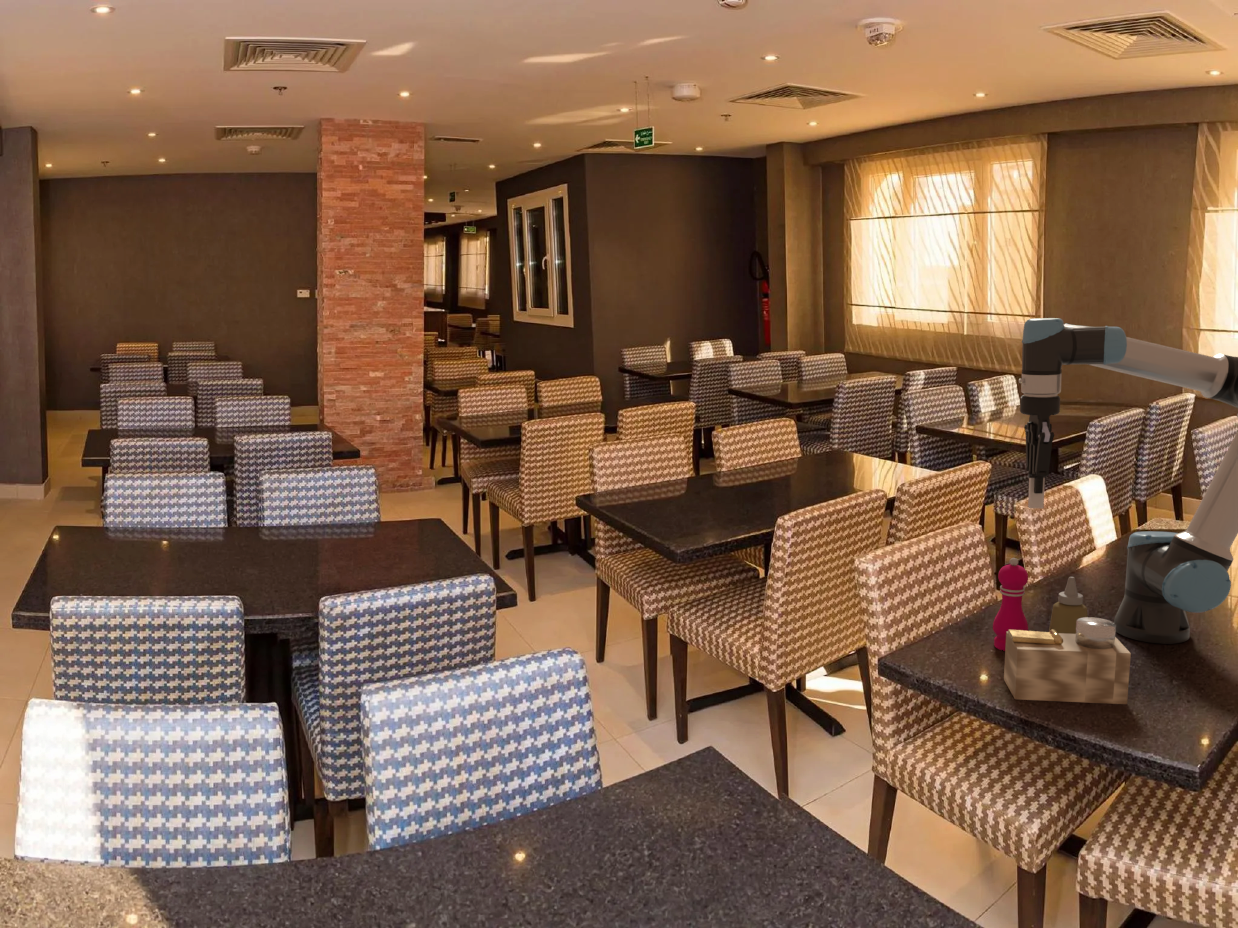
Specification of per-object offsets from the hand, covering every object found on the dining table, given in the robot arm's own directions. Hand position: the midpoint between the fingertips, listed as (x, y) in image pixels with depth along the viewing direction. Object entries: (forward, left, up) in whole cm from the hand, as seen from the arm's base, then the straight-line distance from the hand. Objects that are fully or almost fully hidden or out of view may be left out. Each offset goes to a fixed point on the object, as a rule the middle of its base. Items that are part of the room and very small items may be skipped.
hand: (1035, 507), depth 212 cm
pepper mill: (+3, -3, -32) cm, 32 cm away
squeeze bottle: (-7, +4, -32) cm, 33 cm away
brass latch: (+4, +21, -22) cm, 30 cm away
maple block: (-2, +21, -32) cm, 38 cm away
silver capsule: (-7, +21, -30) cm, 37 cm away
